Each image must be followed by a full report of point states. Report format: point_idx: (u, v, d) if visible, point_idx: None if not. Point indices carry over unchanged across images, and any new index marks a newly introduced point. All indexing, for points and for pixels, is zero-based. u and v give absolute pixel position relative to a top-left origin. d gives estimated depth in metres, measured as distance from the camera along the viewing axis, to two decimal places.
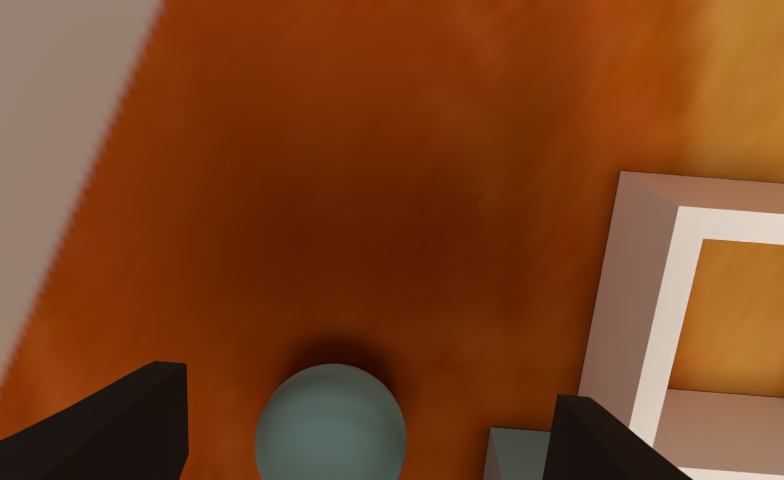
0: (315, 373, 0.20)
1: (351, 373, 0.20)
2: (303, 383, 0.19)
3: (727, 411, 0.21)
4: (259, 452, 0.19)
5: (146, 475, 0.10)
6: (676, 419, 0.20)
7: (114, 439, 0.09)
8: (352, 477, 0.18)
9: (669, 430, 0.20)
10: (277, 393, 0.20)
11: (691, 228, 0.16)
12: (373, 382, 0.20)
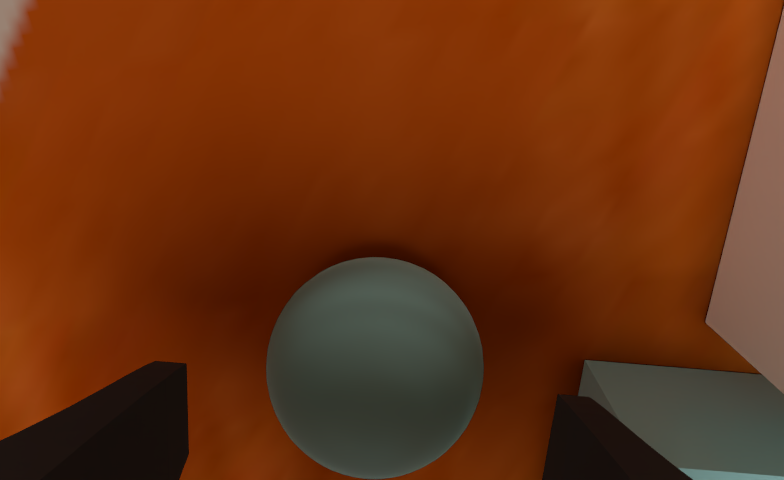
0: (354, 262, 0.14)
1: (405, 264, 0.14)
2: (337, 274, 0.13)
3: None
4: (273, 373, 0.13)
5: (146, 475, 0.10)
6: None
7: (114, 439, 0.09)
8: (415, 403, 0.12)
9: None
10: (299, 292, 0.14)
11: None
12: (437, 278, 0.14)
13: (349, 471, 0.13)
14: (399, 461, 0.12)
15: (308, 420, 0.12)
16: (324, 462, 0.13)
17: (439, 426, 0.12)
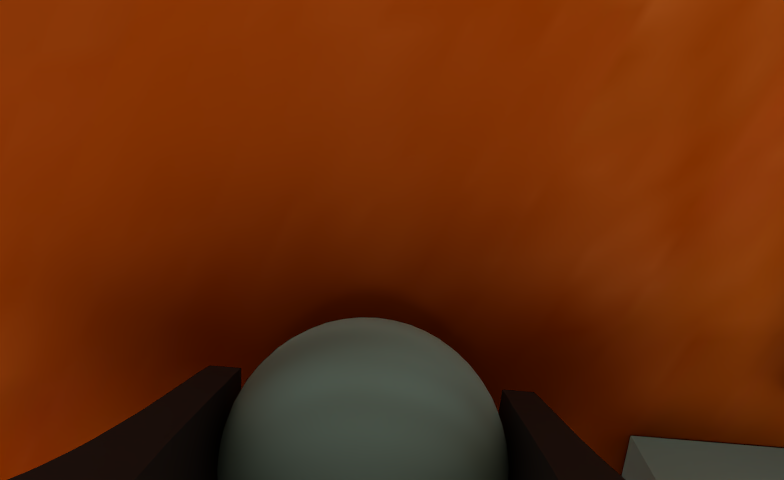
0: (334, 330, 0.10)
1: (403, 332, 0.10)
2: (312, 348, 0.10)
3: None
4: None
5: None
6: None
7: (184, 445, 0.09)
8: None
9: None
10: (261, 369, 0.10)
11: None
12: (446, 349, 0.10)
13: None
14: None
15: None
16: None
17: None
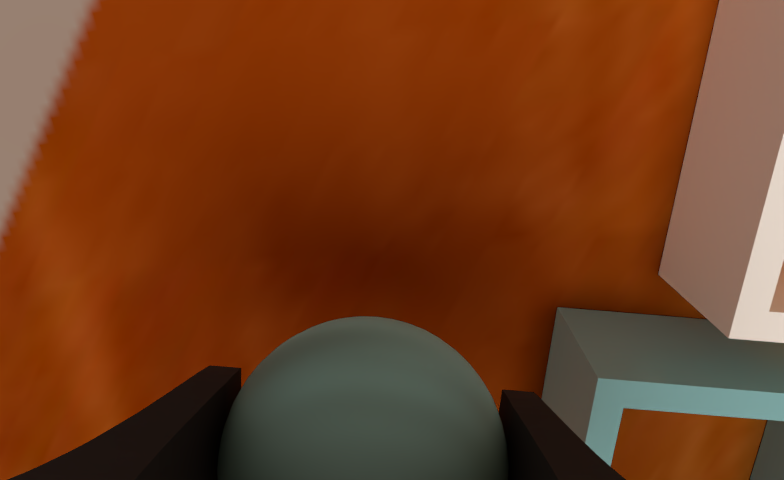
0: (334, 329, 0.10)
1: (403, 330, 0.10)
2: (312, 346, 0.10)
3: None
4: None
5: None
6: None
7: (184, 445, 0.09)
8: None
9: (781, 287, 0.17)
10: (261, 369, 0.10)
11: None
12: (446, 348, 0.10)
13: None
14: None
15: None
16: None
17: None
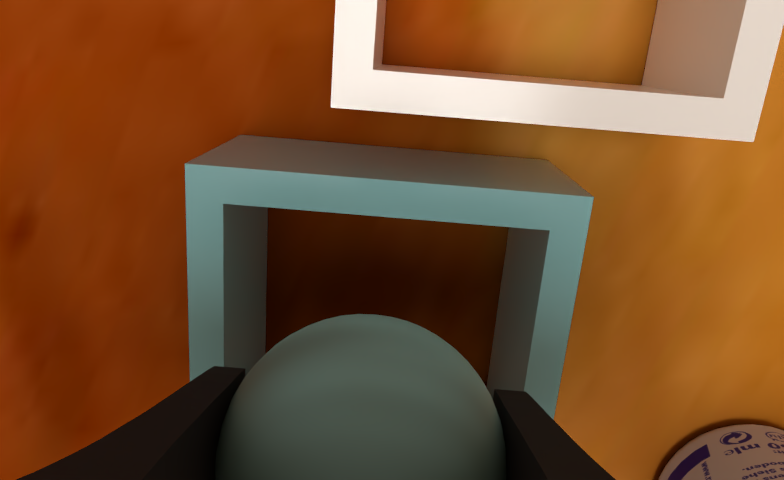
0: (332, 326, 0.10)
1: (402, 328, 0.10)
2: (310, 344, 0.10)
3: (537, 78, 0.15)
4: None
5: None
6: (457, 72, 0.15)
7: (190, 445, 0.09)
8: None
9: (437, 72, 0.14)
10: (259, 367, 0.10)
11: None
12: (444, 346, 0.10)
13: None
14: None
15: None
16: None
17: None
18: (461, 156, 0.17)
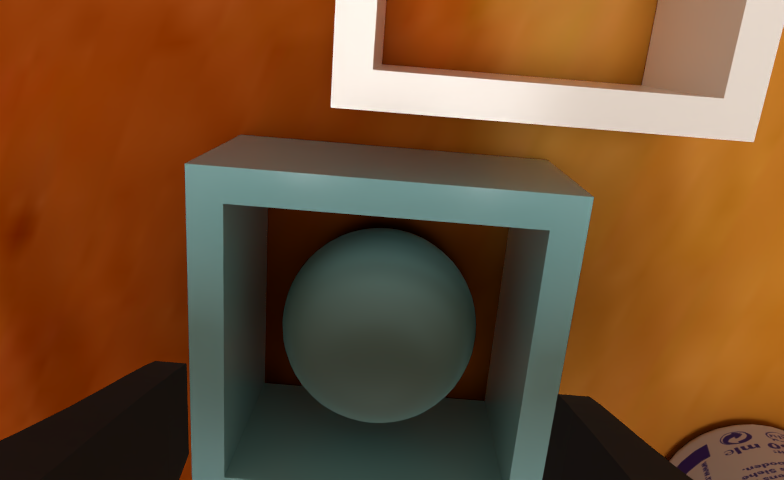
0: (360, 232, 0.15)
1: (406, 233, 0.16)
2: (346, 241, 0.15)
3: (537, 78, 0.15)
4: (290, 328, 0.15)
5: (146, 475, 0.10)
6: (457, 72, 0.15)
7: (114, 439, 0.09)
8: (415, 351, 0.14)
9: (437, 72, 0.14)
10: (312, 258, 0.15)
11: None
12: (434, 246, 0.16)
13: (357, 414, 0.15)
14: (402, 403, 0.14)
15: (322, 367, 0.14)
16: (335, 406, 0.15)
17: (437, 372, 0.14)
18: (461, 156, 0.16)
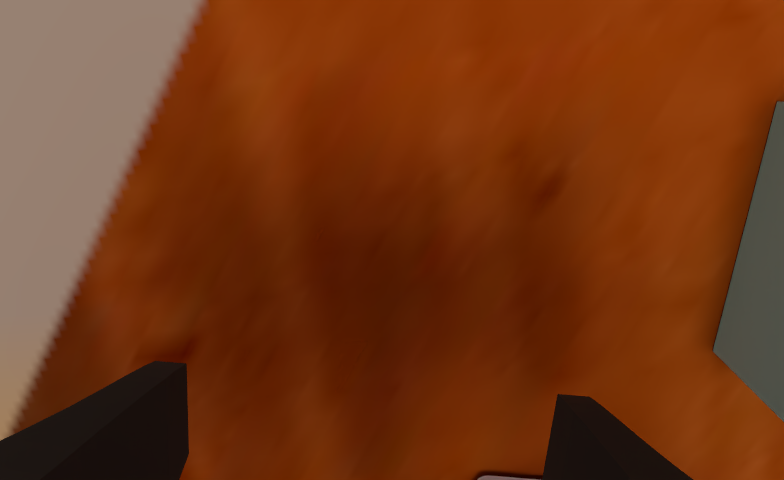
0: None
1: None
2: None
3: None
4: None
5: (146, 475, 0.10)
6: None
7: (114, 439, 0.09)
8: None
9: None
10: None
11: None
12: None
13: None
14: None
15: None
16: None
17: None
18: None
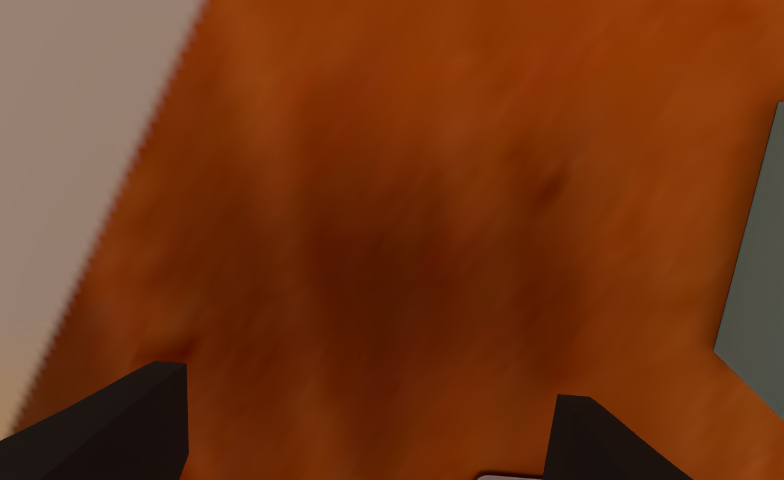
0: None
1: None
2: None
3: None
4: None
5: (146, 475, 0.10)
6: None
7: (114, 439, 0.09)
8: None
9: None
10: None
11: None
12: None
13: None
14: None
15: None
16: None
17: None
18: None
